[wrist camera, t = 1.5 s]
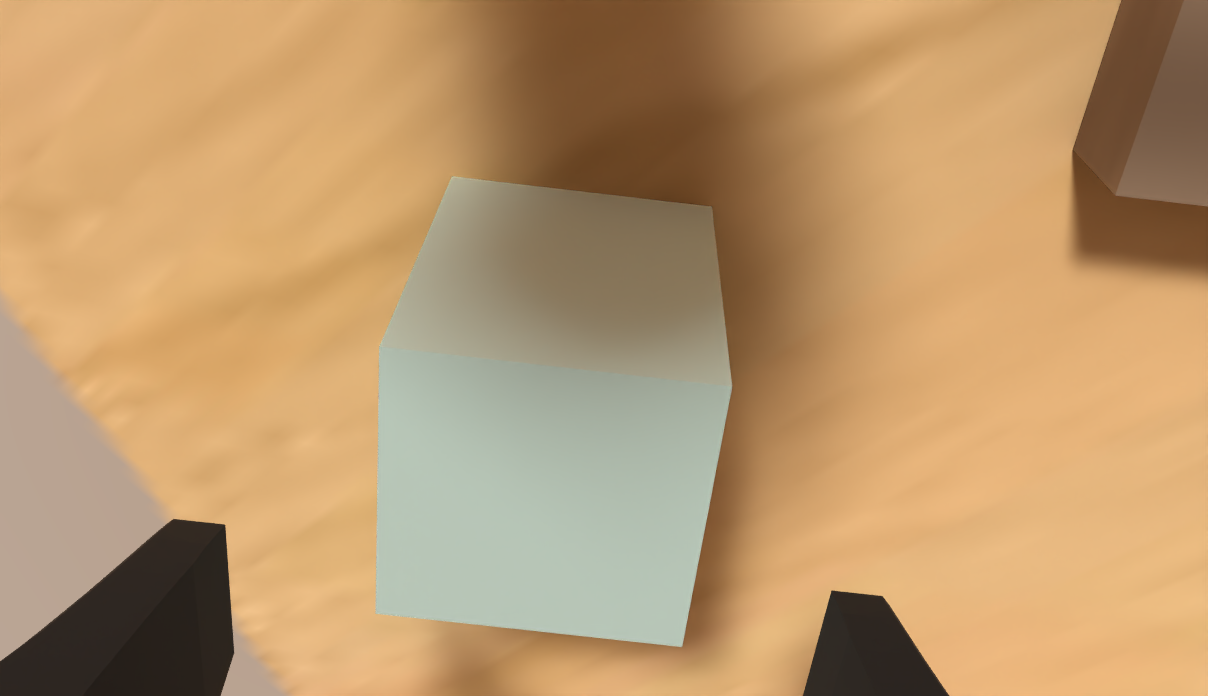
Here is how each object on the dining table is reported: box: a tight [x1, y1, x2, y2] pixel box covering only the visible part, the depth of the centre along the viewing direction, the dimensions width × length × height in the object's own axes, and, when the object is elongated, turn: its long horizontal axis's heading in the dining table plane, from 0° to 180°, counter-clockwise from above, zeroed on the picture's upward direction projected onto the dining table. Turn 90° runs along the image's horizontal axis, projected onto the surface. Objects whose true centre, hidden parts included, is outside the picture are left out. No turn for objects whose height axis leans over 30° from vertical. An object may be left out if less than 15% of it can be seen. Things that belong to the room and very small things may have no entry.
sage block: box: [376, 176, 732, 647], centre depth 18 cm, size 4×4×6 cm
